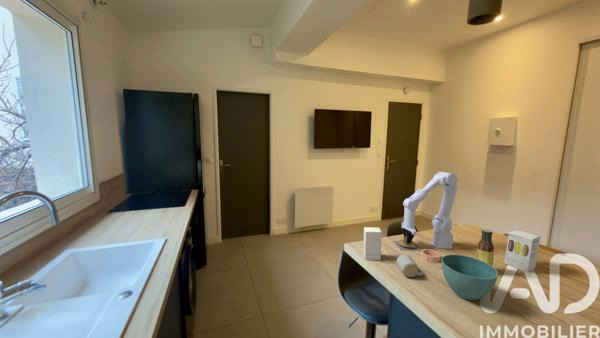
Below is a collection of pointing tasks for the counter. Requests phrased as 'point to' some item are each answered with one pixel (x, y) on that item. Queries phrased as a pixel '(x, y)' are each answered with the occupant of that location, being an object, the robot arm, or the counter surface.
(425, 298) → the counter surface
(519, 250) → the supplement box
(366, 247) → the skincare box
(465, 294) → the deep teal bowl
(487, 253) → the sauce bottle
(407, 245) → the lid
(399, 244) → the mat
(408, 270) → the ceramic mug
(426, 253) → the bowl
